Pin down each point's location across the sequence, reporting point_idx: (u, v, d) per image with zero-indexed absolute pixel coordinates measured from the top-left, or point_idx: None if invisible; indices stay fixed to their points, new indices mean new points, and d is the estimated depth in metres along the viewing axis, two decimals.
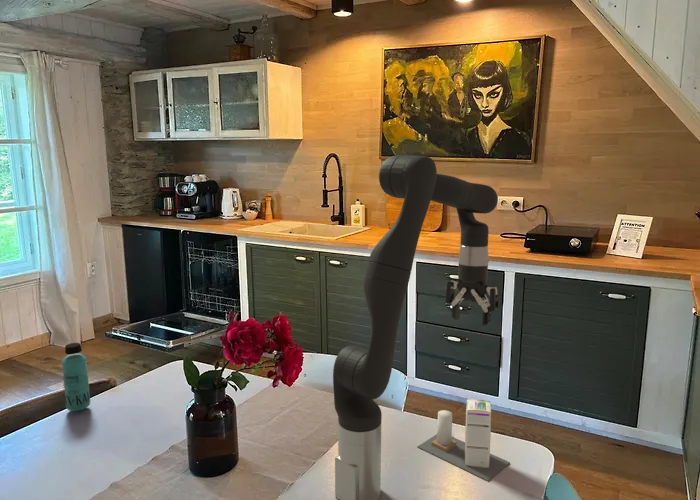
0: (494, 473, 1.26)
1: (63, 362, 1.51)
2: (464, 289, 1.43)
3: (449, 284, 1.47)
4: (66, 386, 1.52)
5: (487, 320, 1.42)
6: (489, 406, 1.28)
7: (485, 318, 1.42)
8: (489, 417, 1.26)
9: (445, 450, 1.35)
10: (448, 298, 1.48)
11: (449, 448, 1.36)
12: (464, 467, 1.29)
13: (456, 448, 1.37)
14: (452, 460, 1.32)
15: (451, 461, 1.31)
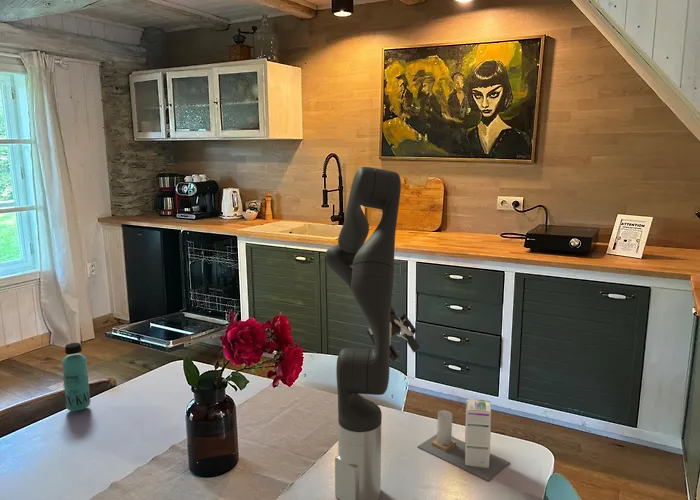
0: (494, 473, 1.26)
1: (63, 362, 1.51)
2: (389, 323, 1.44)
3: None
4: (66, 386, 1.52)
5: (416, 343, 1.46)
6: (489, 406, 1.28)
7: None
8: (489, 417, 1.26)
9: (445, 450, 1.35)
10: None
11: (449, 448, 1.36)
12: (464, 467, 1.29)
13: (456, 448, 1.37)
14: (452, 460, 1.32)
15: (451, 461, 1.31)
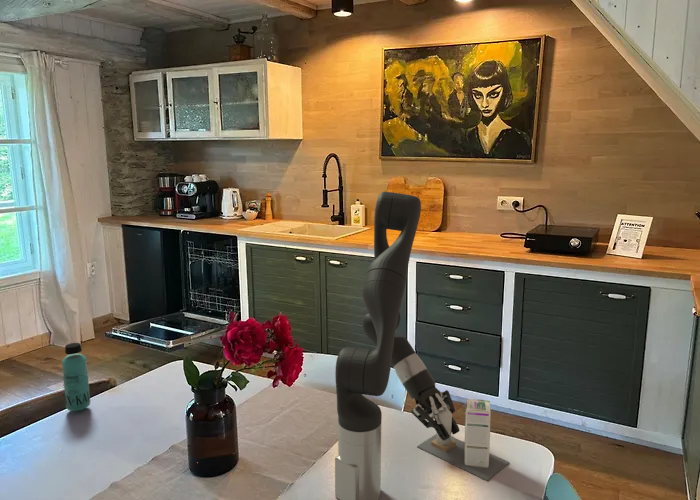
0: (493, 473, 1.27)
1: (63, 362, 1.51)
2: (431, 398, 1.37)
3: (419, 408, 1.34)
4: (66, 386, 1.52)
5: (456, 424, 1.38)
6: (488, 406, 1.28)
7: (454, 423, 1.38)
8: (488, 417, 1.26)
9: (445, 450, 1.35)
10: (432, 419, 1.34)
11: (449, 448, 1.36)
12: (464, 467, 1.29)
13: (455, 448, 1.37)
14: (452, 460, 1.32)
15: (451, 461, 1.31)
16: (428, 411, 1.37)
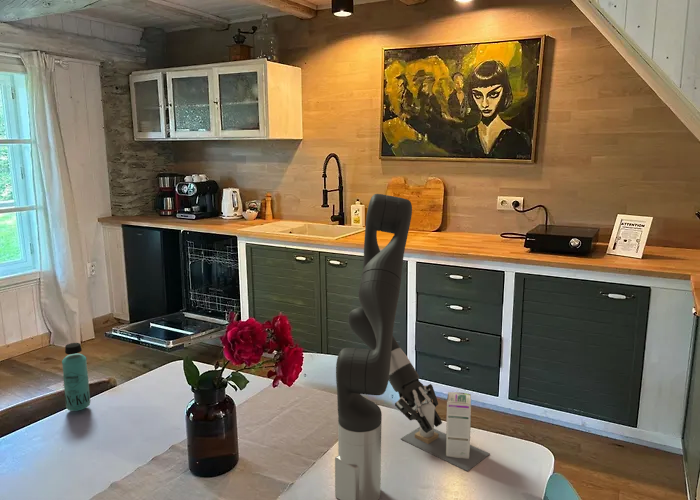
0: (474, 463, 1.30)
1: (63, 362, 1.51)
2: (414, 391, 1.41)
3: (402, 401, 1.38)
4: (66, 386, 1.52)
5: (439, 417, 1.42)
6: (469, 399, 1.32)
7: (437, 415, 1.41)
8: (469, 409, 1.30)
9: (427, 442, 1.39)
10: (414, 411, 1.38)
11: (431, 440, 1.40)
12: (445, 458, 1.32)
13: (438, 440, 1.40)
14: (434, 451, 1.35)
15: (433, 452, 1.35)
16: (411, 404, 1.41)
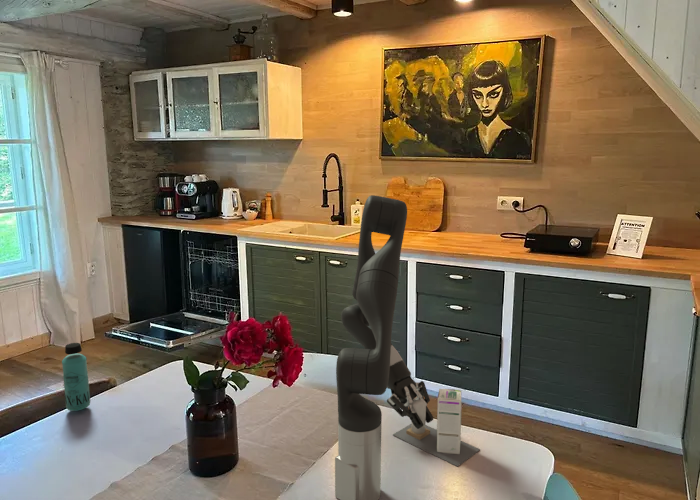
0: (464, 459, 1.32)
1: (63, 362, 1.51)
2: (406, 388, 1.43)
3: (394, 397, 1.40)
4: (66, 386, 1.52)
5: (430, 413, 1.44)
6: (460, 395, 1.34)
7: (429, 412, 1.43)
8: (459, 405, 1.31)
9: (419, 438, 1.41)
10: (406, 408, 1.40)
11: (423, 436, 1.41)
12: (436, 453, 1.34)
13: (429, 436, 1.42)
14: (425, 447, 1.37)
15: (424, 448, 1.37)
16: (403, 401, 1.42)
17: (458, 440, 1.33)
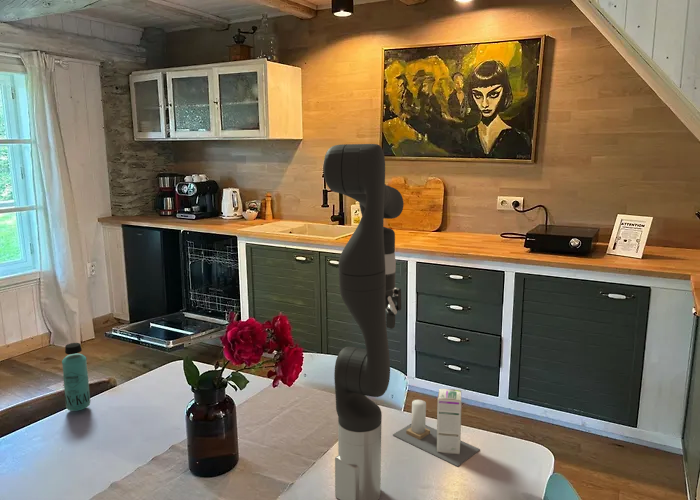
0: (464, 459, 1.32)
1: (63, 362, 1.51)
2: None
3: None
4: (66, 386, 1.52)
5: None
6: (459, 395, 1.34)
7: None
8: (459, 405, 1.31)
9: (419, 438, 1.41)
10: None
11: (423, 436, 1.41)
12: (436, 453, 1.34)
13: (429, 436, 1.42)
14: (425, 447, 1.37)
15: (424, 448, 1.37)
16: None
17: (458, 440, 1.33)
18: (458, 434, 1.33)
